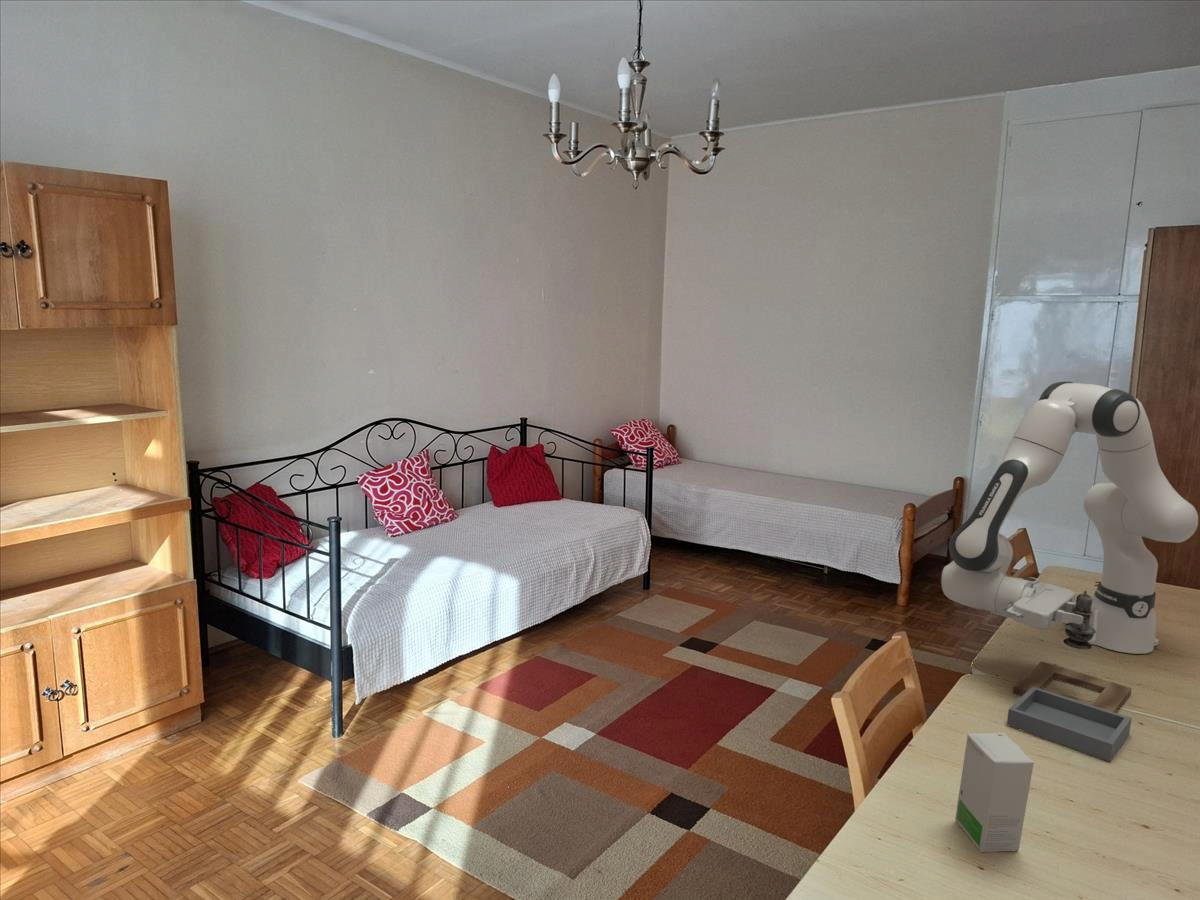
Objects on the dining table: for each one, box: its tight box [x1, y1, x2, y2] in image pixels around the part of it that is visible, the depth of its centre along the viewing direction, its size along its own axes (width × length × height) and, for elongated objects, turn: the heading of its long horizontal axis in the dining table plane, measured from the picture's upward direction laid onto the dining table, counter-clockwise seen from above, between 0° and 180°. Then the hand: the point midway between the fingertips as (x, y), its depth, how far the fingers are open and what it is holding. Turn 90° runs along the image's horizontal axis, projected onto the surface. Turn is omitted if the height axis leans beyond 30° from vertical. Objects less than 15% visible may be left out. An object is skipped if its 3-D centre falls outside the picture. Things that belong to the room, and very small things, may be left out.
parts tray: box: [1006, 686, 1133, 763], centre depth 162 cm, size 18×14×4 cm
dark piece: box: [1063, 590, 1096, 651], centre depth 174 cm, size 6×6×12 cm
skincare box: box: [954, 732, 1035, 853], centre depth 128 cm, size 8×7×16 cm
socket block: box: [1012, 661, 1132, 713], centre depth 178 cm, size 18×18×2 cm
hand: (1086, 617), depth 173 cm, fingers closed on dark piece, 3 cm apart
